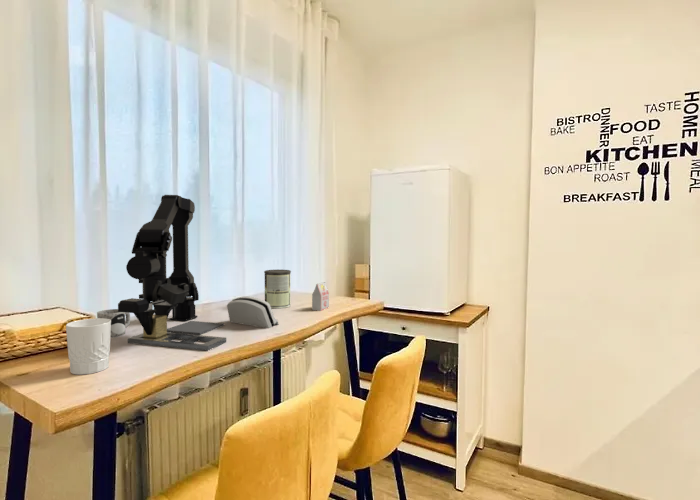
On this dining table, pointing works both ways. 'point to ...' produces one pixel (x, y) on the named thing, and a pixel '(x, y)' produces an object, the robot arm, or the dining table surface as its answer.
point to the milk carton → (320, 297)
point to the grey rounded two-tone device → (251, 312)
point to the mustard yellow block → (157, 327)
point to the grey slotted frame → (185, 343)
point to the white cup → (88, 345)
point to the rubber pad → (194, 327)
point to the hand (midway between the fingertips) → (155, 332)
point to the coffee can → (277, 288)
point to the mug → (116, 321)
